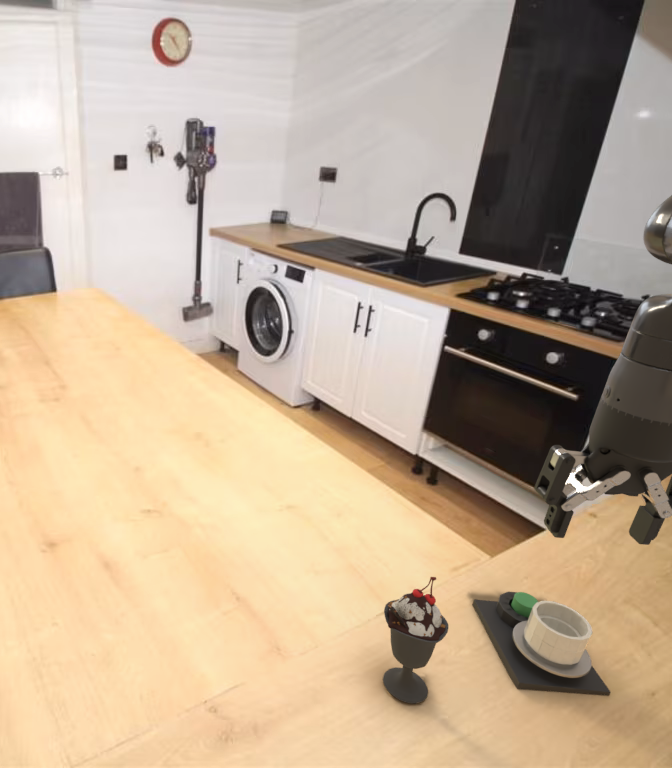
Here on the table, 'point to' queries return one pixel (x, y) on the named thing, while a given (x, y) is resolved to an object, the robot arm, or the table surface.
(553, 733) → the table surface
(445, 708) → the table surface
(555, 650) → the bowl
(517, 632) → the scale pan
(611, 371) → the robot arm
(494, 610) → the scale
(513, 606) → the tare button
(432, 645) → the sundae
